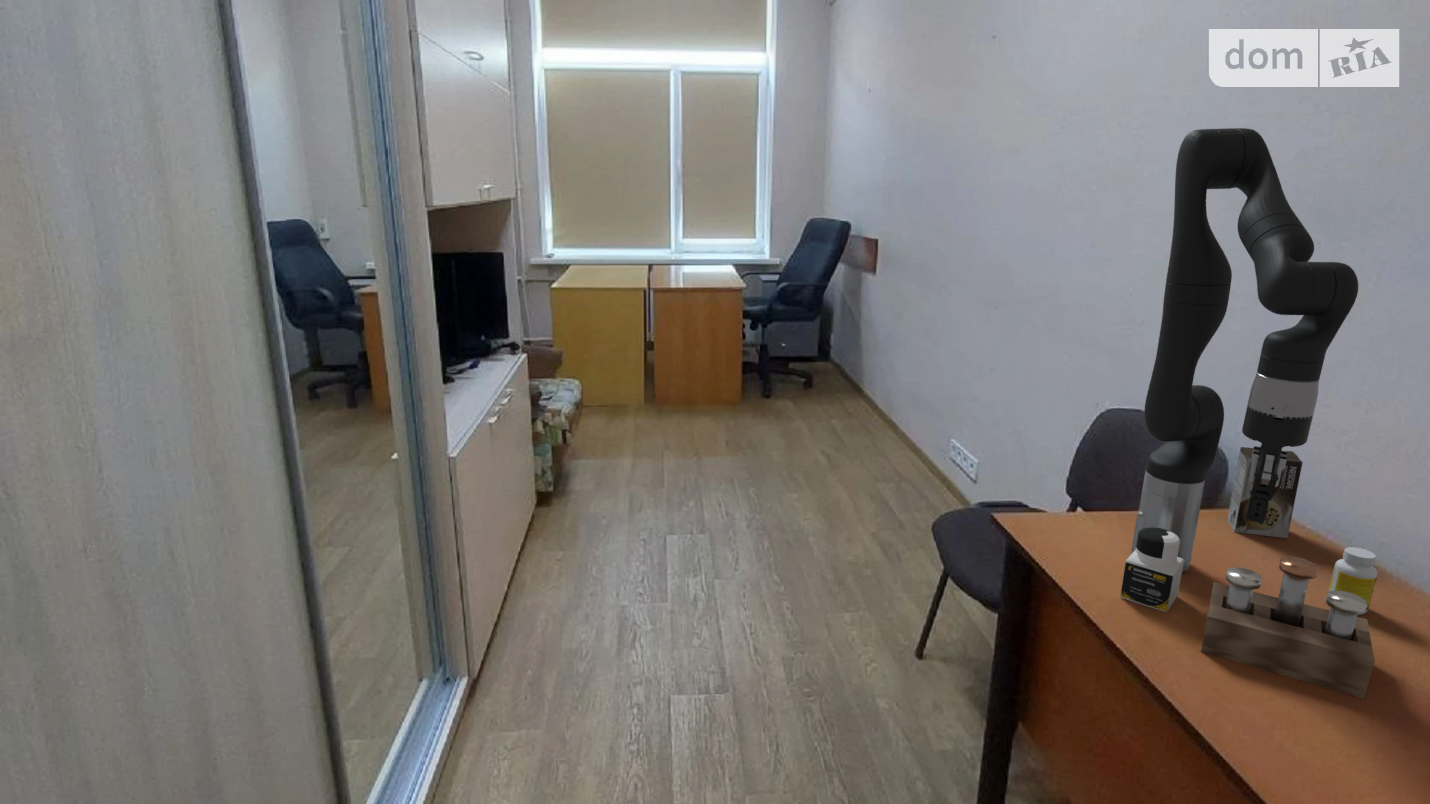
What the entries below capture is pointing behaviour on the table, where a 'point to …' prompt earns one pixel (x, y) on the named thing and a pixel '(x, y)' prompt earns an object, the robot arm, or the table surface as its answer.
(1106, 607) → the table surface
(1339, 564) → the supplement bottle
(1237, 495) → the coffee box
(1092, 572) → the table surface
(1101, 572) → the table surface
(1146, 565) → the medicine bottle
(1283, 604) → the copper and grey cylinder
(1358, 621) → the mount
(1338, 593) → the knob right
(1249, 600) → the knob left
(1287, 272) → the robot arm
